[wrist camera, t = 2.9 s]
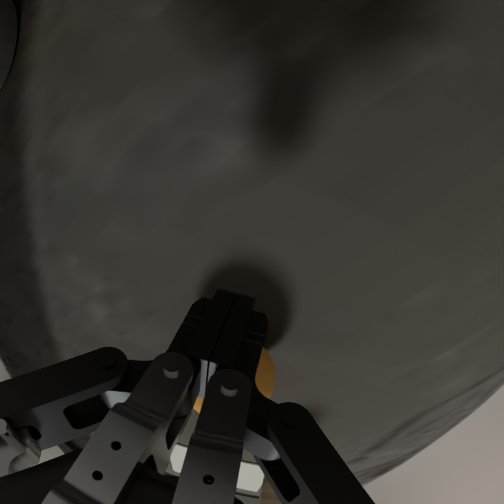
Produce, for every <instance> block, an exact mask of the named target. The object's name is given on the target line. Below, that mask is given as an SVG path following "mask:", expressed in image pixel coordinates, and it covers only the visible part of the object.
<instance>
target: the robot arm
mask: <svg viewBox="0 0 504 504" xmlns="http://www.w3.org/2000/svg"><path fill="white" fill-rule="evenodd" d="M16 38H17V14H16V8H15V6H14V3H13V1H12V0H0V90H1V88H2V86H3V84H4V82H5V80H6V78H7V75H8V73H9V70H10V67H11V63H12V60H13V56H14V51H15V46H16ZM236 295H237V296H236ZM255 300H256V298H254V297H250V296H246V295H242V294H237V293H234V292H230V291H227V290H223V289H218V290H217V291H216V293H215V295H214V298H213V300H210V299H206V298H201V299H199V300H198V301H196V302H195V303H194V304H192V306H191V308H190V310H189V312H188V313H187V315H186V317H185V319H184V321H183V323H182V324H181V326H180V328H179V330H178V332H177V333H176V335H175V337H174V339H173V341H172V343H171V344H170V346H169V348H168V350H167V351H166V353H162V354H160V355H158V356H157V357H156V358H155V359H154V360H151V361H137V360H127V357H126V355H125V354H124V353H123V352H122V351H121V350H119V349H117V348H114V347H103V348H99V349H97V350H94V351H91V352H88V353H85V354H83V355H80V356H77V357H74V358H71V359H68V360H65V361H63V362H60V363H57V364H54V365H51V366H48V367H45V368H42V369H39V370H36V371H33V372H30V373H27V374H24V375H21V376H18V377H15V378H12V379H9V380H5V381H2V382H0V504H244V503H243V502H242V501H241V500H239V499H238V498H236V497H235V492H236V487H237V481H238V476H239V470H240V465H241V459H242V453H243V449H245V450H247V451H249V452H250V453H252V454H254V458H255V460H256V461H257V463H258V465H259V467H260V468H261V470H262V472H263V473H264V475H265V477H266V479H267V480H268V482H269V484H270V485H271V487H272V489H273V490H274V492H275V494H276V495H277V497H278V498H279V500H280V502H281V503H282V504H375V503H374V502H373V500H372V499H371V498H370V496H369V495H368V494H367V492H366V491H365V490H364V488H363V487H362V486H361V484H360V483H359V481H358V480H357V479H356V477H355V476H354V475H353V473H352V472H351V471H350V469H349V468H348V466H347V465H346V464H345V462H344V461H343V460H342V458H341V457H340V455H339V454H338V453H337V451H336V450H335V448H334V447H333V446H332V444H331V443H330V441H329V440H328V439H327V437H326V436H325V434H324V433H323V431H322V430H321V429H320V427H319V426H318V424H317V423H316V421H315V420H314V419H313V417H312V416H311V414H310V413H309V412H308V410H307V409H306V408H304V407H303V406H301V405H299V404H296V403H292V402H285V403H280V404H277V403H275V402H273V401H272V400H270V399H268V398H267V397H265V396H264V395H263V394H262V393H261V392H260V391H259V390H258V388H257V386H256V382H255V376H256V372H257V368H258V364H259V360H260V356H261V352H262V348H263V344H264V341H265V337H266V333H267V329H268V321H267V318H266V314H263V313H259V312H255V311H253V309H254V305H255ZM197 397H200V398H203V403H202V406H201V410H200V413H199V417H198V420H197V424H196V427H195V431H194V433H192V435H191V438H190V441H189V445H188V448H187V452H186V455H185V459H184V462H183V466H182V469H181V473H180V477H176V476H167V475H164V473H165V471H166V469H167V467H168V464H169V460H170V456H171V453H172V451H173V449H174V447H175V445H176V443H177V441H178V439H179V437H180V435H181V434H182V432H183V430H184V428H185V426H186V424H187V422H188V420H189V418H190V416H191V413H192V409H193V407H194V404H195V402H196V399H197ZM94 431H95V433H94V434H93V436H92V437H91V439H90V440H89V442H88V443H87V445H86V446H85V448H84V449H78V450H74V451H71V452H69V453H66V454H64V455H61V456H59V457H57V458H54V459H51V460H48V461H46V462H43V463H40V464H38V463H39V461H40V456H41V450H44V449H47V448H50V447H53V446H56V445H59V444H62V443H65V442H67V441H70V440H73V439H76V438H78V437H81V436H84V435H86V434H89V433H92V432H94ZM36 464H38V465H36ZM33 465H35V466H33ZM31 466H32V467H31Z"/></svg>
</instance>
